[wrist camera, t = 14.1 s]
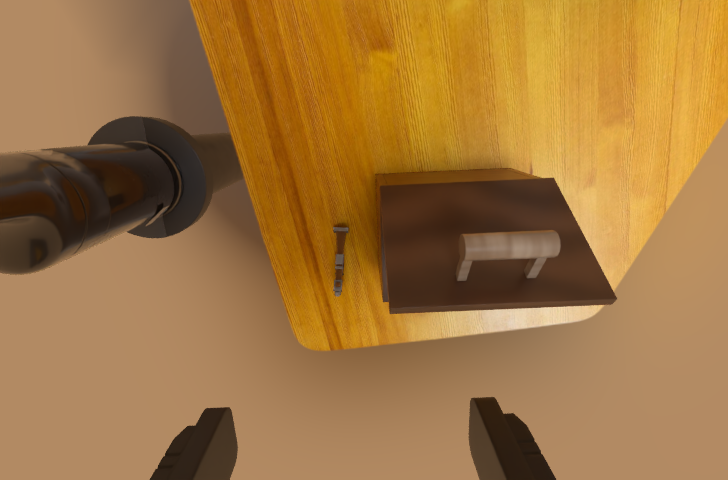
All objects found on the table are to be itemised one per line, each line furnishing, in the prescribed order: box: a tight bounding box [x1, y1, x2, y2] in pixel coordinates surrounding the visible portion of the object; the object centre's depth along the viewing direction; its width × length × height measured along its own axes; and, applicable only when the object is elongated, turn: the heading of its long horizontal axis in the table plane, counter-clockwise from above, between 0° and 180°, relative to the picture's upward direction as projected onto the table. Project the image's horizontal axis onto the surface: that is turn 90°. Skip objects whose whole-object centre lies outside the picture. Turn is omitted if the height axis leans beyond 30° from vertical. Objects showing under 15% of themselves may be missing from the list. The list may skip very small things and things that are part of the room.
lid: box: [380, 178, 617, 314], centre depth 29 cm, size 12×16×5 cm
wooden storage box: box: [376, 168, 540, 302], centre depth 41 cm, size 12×16×10 cm
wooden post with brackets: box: [333, 227, 349, 296], centre depth 46 cm, size 2×8×4 cm, turn 177°
